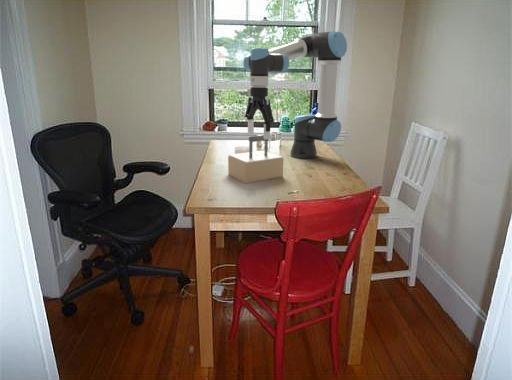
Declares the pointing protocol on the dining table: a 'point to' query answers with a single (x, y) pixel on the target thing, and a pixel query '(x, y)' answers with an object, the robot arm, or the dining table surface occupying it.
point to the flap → (258, 157)
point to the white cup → (241, 149)
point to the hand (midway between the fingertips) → (258, 136)
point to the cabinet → (254, 168)
